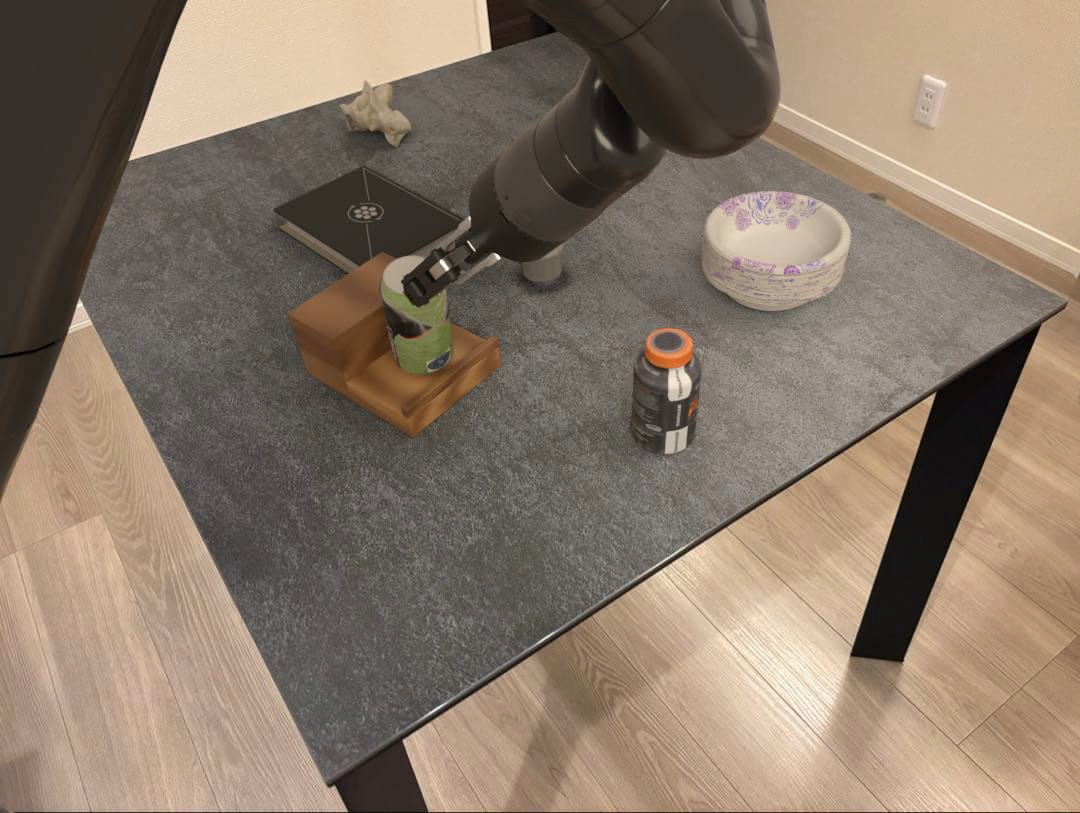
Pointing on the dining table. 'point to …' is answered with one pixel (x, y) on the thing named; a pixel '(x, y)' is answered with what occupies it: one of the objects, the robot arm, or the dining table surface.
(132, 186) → the dining table surface
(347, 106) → the decorative object
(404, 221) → the book
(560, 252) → the cup
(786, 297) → the paper bowls
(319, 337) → the wooden step stand
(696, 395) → the pill bottle
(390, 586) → the dining table surface
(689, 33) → the robot arm
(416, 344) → the beverage can
